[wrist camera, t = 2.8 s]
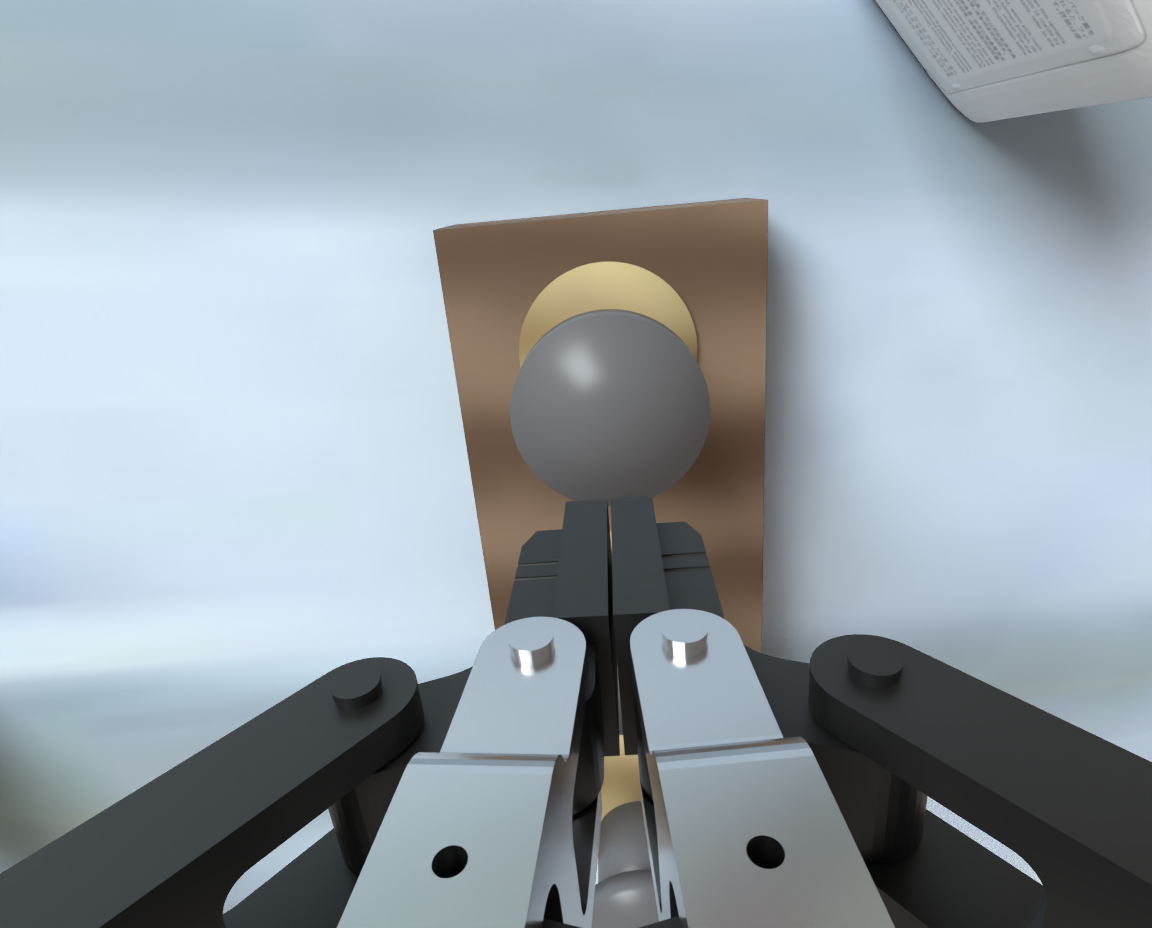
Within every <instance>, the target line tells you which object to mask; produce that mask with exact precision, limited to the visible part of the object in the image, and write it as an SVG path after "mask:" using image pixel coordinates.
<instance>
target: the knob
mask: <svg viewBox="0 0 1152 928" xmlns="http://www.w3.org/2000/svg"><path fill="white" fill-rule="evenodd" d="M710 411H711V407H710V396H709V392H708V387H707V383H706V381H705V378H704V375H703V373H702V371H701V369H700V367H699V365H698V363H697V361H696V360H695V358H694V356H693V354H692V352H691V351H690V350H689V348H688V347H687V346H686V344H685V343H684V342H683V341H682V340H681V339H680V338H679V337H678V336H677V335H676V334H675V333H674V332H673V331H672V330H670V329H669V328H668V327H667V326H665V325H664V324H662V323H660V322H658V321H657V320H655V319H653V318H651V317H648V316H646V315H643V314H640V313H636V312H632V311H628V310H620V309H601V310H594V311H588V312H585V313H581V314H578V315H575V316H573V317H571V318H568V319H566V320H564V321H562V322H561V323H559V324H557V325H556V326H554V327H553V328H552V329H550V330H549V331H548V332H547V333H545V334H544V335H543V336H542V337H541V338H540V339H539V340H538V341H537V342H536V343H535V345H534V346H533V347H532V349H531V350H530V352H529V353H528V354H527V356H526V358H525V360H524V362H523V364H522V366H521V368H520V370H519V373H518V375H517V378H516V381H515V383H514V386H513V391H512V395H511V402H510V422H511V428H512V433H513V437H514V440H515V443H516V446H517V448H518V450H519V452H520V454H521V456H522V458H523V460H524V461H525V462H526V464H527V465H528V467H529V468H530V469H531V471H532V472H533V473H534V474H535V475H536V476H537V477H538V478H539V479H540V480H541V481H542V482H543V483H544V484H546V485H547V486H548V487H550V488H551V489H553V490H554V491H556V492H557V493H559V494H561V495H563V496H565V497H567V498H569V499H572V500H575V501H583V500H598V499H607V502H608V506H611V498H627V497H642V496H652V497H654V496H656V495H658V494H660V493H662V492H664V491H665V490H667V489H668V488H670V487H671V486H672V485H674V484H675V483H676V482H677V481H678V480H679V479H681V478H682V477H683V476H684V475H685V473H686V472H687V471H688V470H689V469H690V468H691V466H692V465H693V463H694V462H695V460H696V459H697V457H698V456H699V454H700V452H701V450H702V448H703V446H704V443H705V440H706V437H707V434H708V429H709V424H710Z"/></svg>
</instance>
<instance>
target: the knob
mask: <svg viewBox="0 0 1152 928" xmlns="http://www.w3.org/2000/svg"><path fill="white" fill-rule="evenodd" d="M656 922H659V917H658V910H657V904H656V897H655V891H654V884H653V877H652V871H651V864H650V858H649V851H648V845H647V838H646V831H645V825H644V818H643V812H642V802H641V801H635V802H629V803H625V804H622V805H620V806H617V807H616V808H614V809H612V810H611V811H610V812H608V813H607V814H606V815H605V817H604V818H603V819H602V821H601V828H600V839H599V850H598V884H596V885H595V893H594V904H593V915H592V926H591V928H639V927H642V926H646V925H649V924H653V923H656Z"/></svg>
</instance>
